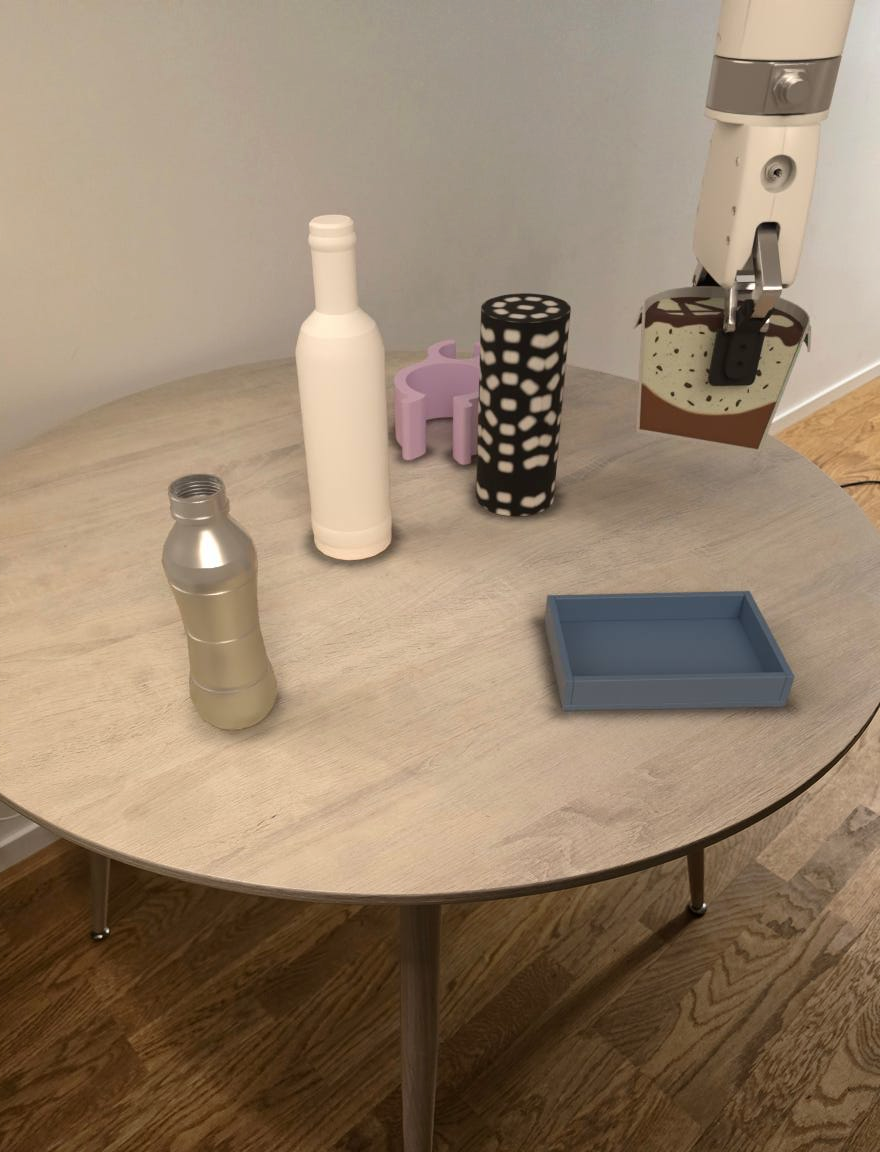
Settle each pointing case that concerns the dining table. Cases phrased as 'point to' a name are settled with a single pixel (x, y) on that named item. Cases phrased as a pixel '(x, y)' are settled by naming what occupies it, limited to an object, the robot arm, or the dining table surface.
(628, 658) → the tray
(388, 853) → the dining table surface
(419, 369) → the clip
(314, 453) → the bottle
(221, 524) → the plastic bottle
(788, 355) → the food container
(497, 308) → the white-spotted black cylinder
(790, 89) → the robot arm
